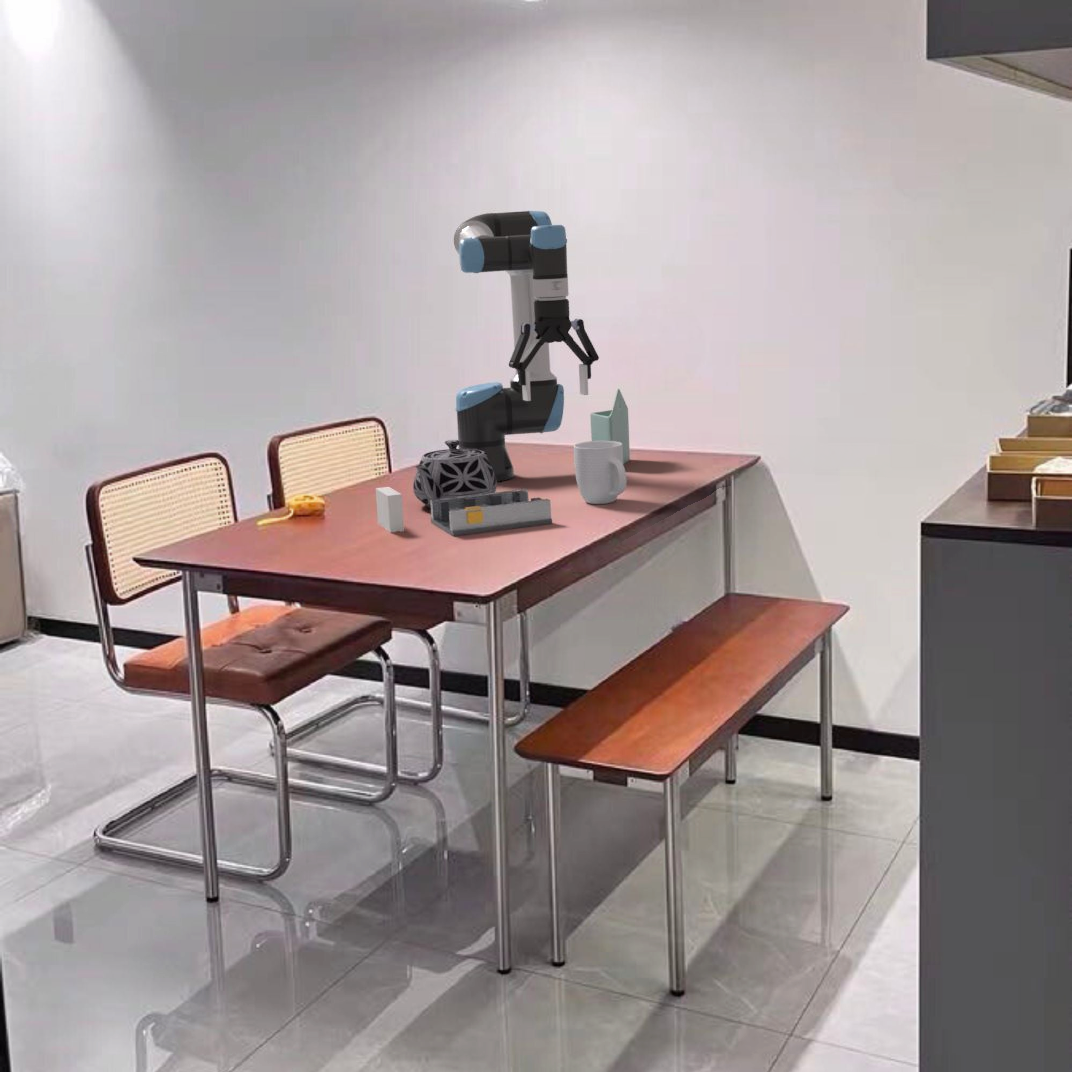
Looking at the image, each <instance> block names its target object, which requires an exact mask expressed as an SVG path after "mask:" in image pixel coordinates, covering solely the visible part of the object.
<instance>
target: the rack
mask: <svg viewBox="0 0 1072 1072" xmlns="http://www.w3.org/2000/svg"><path fill="white" fill-rule="evenodd" d="M529 499H530V500H529ZM430 504H431V508H430V523H431V524H433V525H435V526H436V527H437V528H439V529H441V530H443V531H444V532H446V533H447V534H449V535H451V536H452V537H458V536H459V537H460V536H465V535H473V534H474V535H475V534H481V533H482V534H483V533H490V532H498V531H503V530H504V531H505V530H512V529H521V528H528V527H535V526H536V527H537V526H544V525H551V524H553V519H552V509H551V508H552V507H551V504H552V503H551V499H548V498H546V499H543V498H541V497H534V498H529V490H528V489H527V488H522V489H514V490H506V491H497V492H496V491H495V493H487V494H478V495H470V496H461V497H453V498H444V499H436V500H430Z"/></svg>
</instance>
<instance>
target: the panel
mask: <svg viewBox="0 0 1072 1072" xmlns="http://www.w3.org/2000/svg"><path fill="white" fill-rule="evenodd" d="M375 498H376V511H377V512H376V513H377V524H378V526H380V525H381V526H382V527H381V526H380V527H381V528H383V527H384V528H385V530H386V531H387V530H388V531H387V532H389V533H390V532H392V533H397V532H396V531H400V532H405V528H404V515H403V514H404V513H403V498H402V493H400V492H399V491H397V490H395V489H393V488H391V487H390V486H386V487H385V486H384V487H375ZM384 528H383V529H384Z"/></svg>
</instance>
